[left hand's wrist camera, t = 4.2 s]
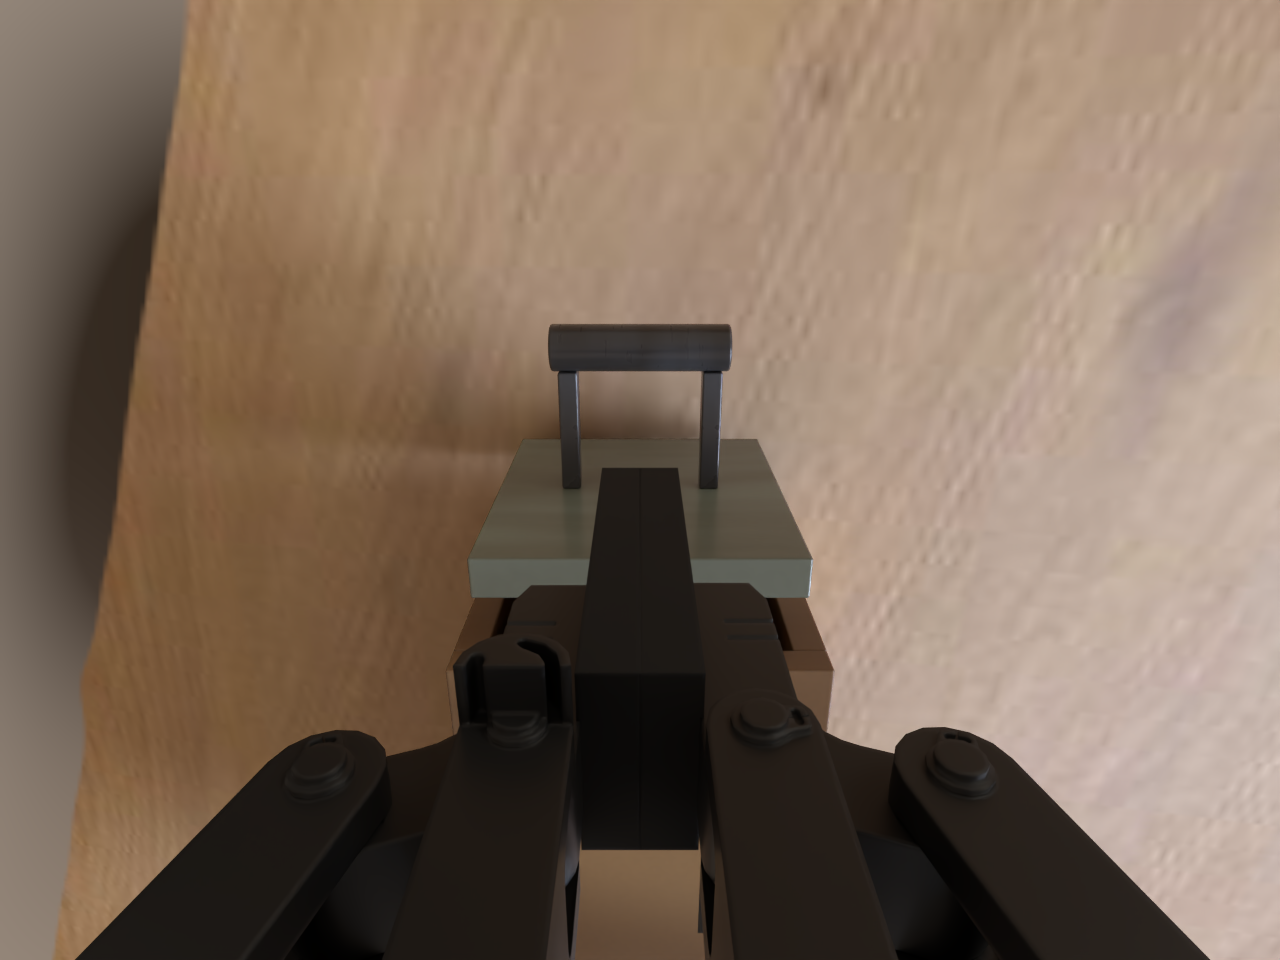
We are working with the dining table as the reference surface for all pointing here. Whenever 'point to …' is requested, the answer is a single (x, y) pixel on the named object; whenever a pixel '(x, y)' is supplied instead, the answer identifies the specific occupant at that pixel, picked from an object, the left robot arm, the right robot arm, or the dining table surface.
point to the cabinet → (658, 879)
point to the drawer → (571, 467)
